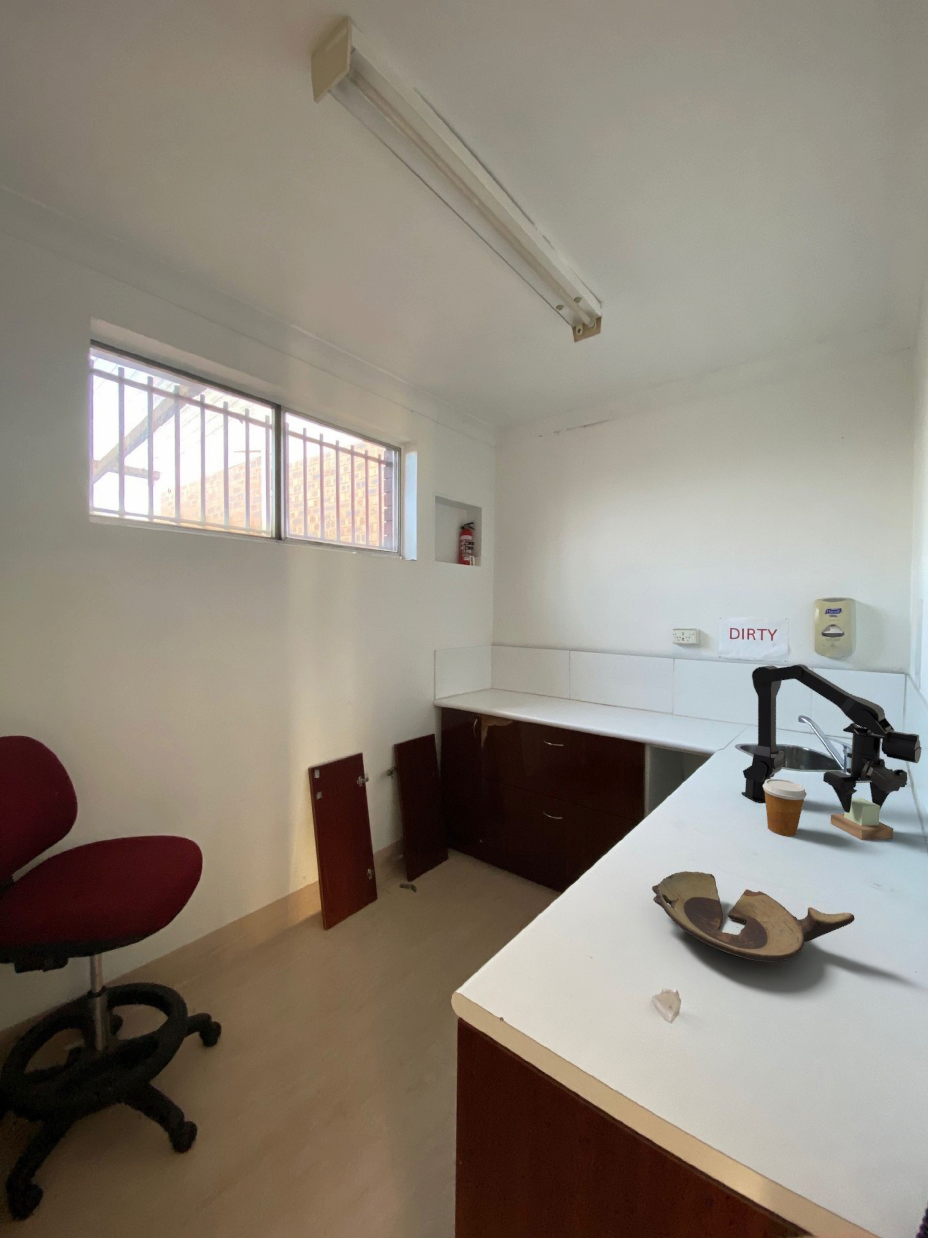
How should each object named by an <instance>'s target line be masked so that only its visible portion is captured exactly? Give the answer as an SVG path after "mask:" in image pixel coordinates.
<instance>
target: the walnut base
mask: <svg viewBox="0 0 928 1238" xmlns="http://www.w3.org/2000/svg"><path fill="white" fill-rule="evenodd" d="M830 824H831V825H833V826H835V827H836V828H839V829H840V830H842V831H844V832H846V833H848V834H850V835H851V836H853V837H856V838H858V839H859V840H861V841H862V840H879V839H883V840H884V839H893V838H894V827H892V826H889V825H887V824H885V823H883V822H881V821H879V825H869V826H861V825H859V824H857V823H855V822H853V821H851V820H849V819H847V818H845V817H844V813H833V814H832V813H831V814H830Z"/></svg>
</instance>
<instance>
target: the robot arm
mask: <svg viewBox="0 0 928 1238" xmlns="http://www.w3.org/2000/svg"><path fill="white" fill-rule="evenodd" d="M751 680H752V686H753V688H754V691H755V693H756V695H757V746H756V748H755V751H754V753H753V755H752V761H751V765H750V766H748V767H747V768H745V769H744V770H742V774H743V777H744V778H745V787H744V788H745V791H741V795H742V796H744V797H746V798H748V799H750V801H753V802H755V803H766V801H765V791H764V788H763V784H764V783H765V781H766V780H767V779H772V778H774V777H775V775H776V774H777V773H779V772H780V771H781V770H782V768H783V766H785V765H786V764H785V760H784V757H785V751H783V750H779V749H778V746H777V695H778V693H779V691H780V689H781V685H782V681H787V680H796V681H798V682H800V683H801V684H803V685H804V686H806V687H807V688H808V689H810V690H812V691H814V692H815V693H817V695H820V696H821V697H823V698H824V699H825V700H827V701H829V702H831V703H832V704H834V705H835V706H836V707H837V708H839V709H840V711H841V712H842V713H843V714H844V715H845V717H847V718H848V719H849V720H850V721H852V723H850V724H849V725H848V726H847V727H845V728H843V729H842V731H843V732H845V733H850V734H852V737H851V738H852V740H851V752H846V753H847V754H846V757H847V758H850V767H847V768H845V773H844V772H842V771H839V770H831V771H829V770H826V771H825V772H823V780H822V781H823V782H824V783H826V784H827V785H829V786H831V788H832V789H833V790H834V792H835V794H836V796H837V798H838V800H839V803H840V805H841V806H842V809H843V811H844V812H847V813H849V812H850V808H851V801H852V798H853V795H854V794H855V793H857V792H858V790H857V789H856V787H857V784H864V783H869V788H870V796H871V802H872V803H875V804H877V805H879V806H880V810H881V808H882V807H883V805H884V803H885V801H886V799H887V798H888V796H889V795H890V794H891V793H893V792H899V791H900V788H906V786H907V784H908V772H906V771H905V770H904V769H899V768H898V769H893V768H888V767H886V762H885V759H884V758H881V752H882V753H883V755H886V757H887V758H890V759H896V760H899V761H905V762H909V763H913V764H918V763H919V762H920V760H921V759H920V758H921V757H922V756H921V755H922V746H921V741H920V734H916V733H906V732H901V731H895V729H894V727H893V726H892V725H891V723H890V722H889V720H888V719H887V718H886V714H885V710H884V709H883V707H882V706H881V705H879V704H877V703H876V702H872V701H871V700H868V699H865V698H863V697H859V696H857V695H854V694H852V693H849V692H848V691H846V690H845V689H843V688H842V687H840V686H838V685H836V684H834V683H833V682H831V681H830V680H828V679H827V678H825V677H823V676H822V675H820V674H819V673H816V672H815V671H813V670H812V669H811V668H809V667H808V666H807V665H805V664H801V663H799V664H794V665H791V666H790V665H789V666H782V667H777V666H776V665H771V664H770V665H763V666H759V667H756V668H755V669H753V671H752V672H751ZM849 774H850V775H849Z"/></svg>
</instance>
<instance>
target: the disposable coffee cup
mask: <svg viewBox="0 0 928 1238" xmlns="http://www.w3.org/2000/svg"><path fill="white" fill-rule="evenodd" d="M763 788H764V791H765V801H766V802H765V808H766V809H765V811H766V813H765V814H766V824H767V829H768V830H769V831H770V832H771V833H774V834H777V835H780V836H785V837H794V836H796V835H798V834H797V832H798V829H799V824H800V819H801V815H802V809H803V805H804V799H806V796H807V794H808V793H807V792H806V789H805V786H803V785H801V784H800V783H797V782H794V781H791V780H787V779H782V778H771V779H767V780H766V781H765V783H764V784H763Z"/></svg>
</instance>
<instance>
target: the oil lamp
mask: <svg viewBox="0 0 928 1238" xmlns="http://www.w3.org/2000/svg"><path fill="white" fill-rule="evenodd" d="M651 890H652V892H653V893H654V894H655V896H653V898H652V900H653V902H655V904H657V905H658V906H660V907H661V908H662V910H663V911H664V912H665V913H666V915H667V916H668V917H669V918H670V919H671V920H672V921H673V922H674V923H675V924H676V925H677V926H678V927H679V928H681V929H682V930H683V931H684V932H686V933H688V934H689V935H691V936H692V937H693V938H696V939H697V940H699V941H701V942H703V943H704V944H706V945H709V946H711V947H713V948H715V949H717V950H720V951H722V952H725V953H727V954H731V955H733V956H737V957H739V958H744V959H747V960H750V961H758V962H767V963H773V962H783V961H787V960H790V959H792V958H794V957H796V956H797V955H799V953H801V952H802V950H803V948H804V946H805V943H808V942H810V941H814V939H817V938H820V937H822V936H824V935H826V934H829V933H831V932H834V931H836V930H839V929H842V928H844V927H846V926H848V925H851V924H852V923H853V922H854V921H855V915H854V914H853V913H850V912H839V913H825V912H822V911H819V910H818V909H815V908H813V907H811V906H809V907H808V908H807V915H806V916H805V917H804V918H801V919H800V918H799V919H798V918H797V916H795V915H793V914H792V913H791V912H790V911H789V910H788V909H786V907H785V906H784V905H782V904H781V903H779V902H778V900H776V899H774V898H773V897H771V896H770V895H768V894H767V893H765V892H763V891H761V890H759V891H753V890H751V889H747V888H746V889H745V890H744V891H743V893H742V894H741V896H740V898H739V899H738V900H736V902H735V904H734V905H733V906H732V908H731V909H730V910H729V911H728V913H727V914H726V915H727V918H729V919H730V920H733V921H735V922H739V923H746V924H745V925H744V927H743V928H742V929H740V932H739V933H738V934H735V933H729V932H723V931H720V930H719V929H720V927H721V926H722V925H723V922H724V921H723V920H724V913H723V907H722V904H721V900H720V896H719V892H718V887H717V882H716V878H715V876H714V875H713V874H712V873H706V872H702V871H701V872H700V871H685V870H684V871H678V872H674V873H672V874H671V875H668V876H666V877H664V878H663V879H662V880H661V881H660V882H659V883H658V884H655V885H652V886H651ZM736 928H739V927H738V926H736Z"/></svg>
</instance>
